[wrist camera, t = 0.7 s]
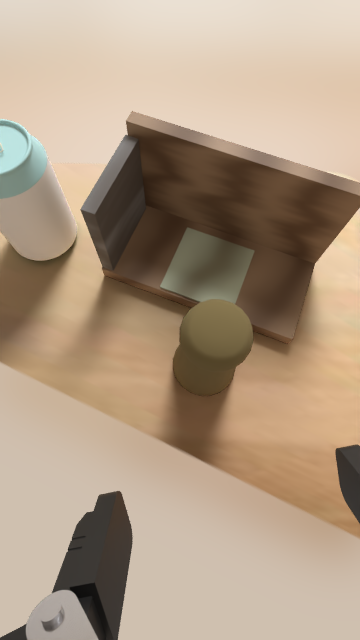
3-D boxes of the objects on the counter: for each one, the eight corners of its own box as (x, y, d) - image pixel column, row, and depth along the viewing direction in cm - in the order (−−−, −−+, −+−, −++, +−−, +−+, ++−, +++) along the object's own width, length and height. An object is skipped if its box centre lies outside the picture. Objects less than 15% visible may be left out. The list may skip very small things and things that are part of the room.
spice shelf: (104, 275, 36) (75, 202, 25) (142, 203, 39) (132, 111, 28) (287, 343, 34) (342, 296, 23) (312, 261, 37) (370, 186, 26)
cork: (219, 407, 32) (242, 389, 21) (161, 377, 32) (157, 346, 22) (245, 351, 33) (278, 309, 23) (190, 324, 34) (198, 272, 24)
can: (62, 271, 36) (12, 192, 25) (1, 253, 36) (-75, 167, 25) (88, 218, 38) (54, 124, 27) (31, 202, 39) (-27, 102, 28)
